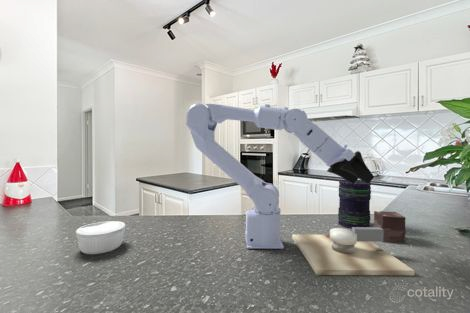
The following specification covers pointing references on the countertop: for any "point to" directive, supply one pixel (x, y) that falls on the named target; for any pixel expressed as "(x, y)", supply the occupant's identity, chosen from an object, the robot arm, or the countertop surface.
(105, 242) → the ramekin
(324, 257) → the post board
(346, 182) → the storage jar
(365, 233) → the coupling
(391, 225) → the box
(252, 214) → the robot arm
